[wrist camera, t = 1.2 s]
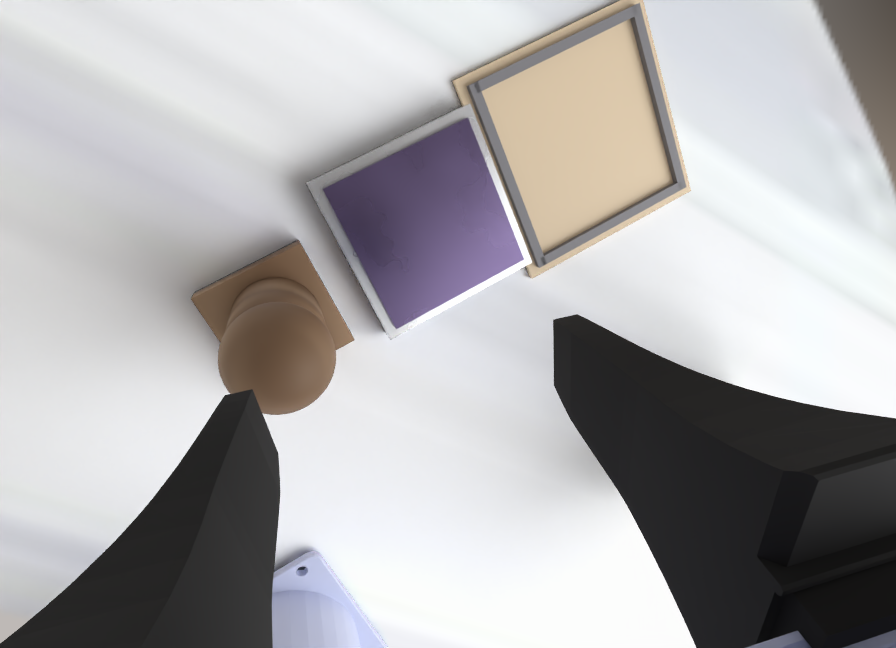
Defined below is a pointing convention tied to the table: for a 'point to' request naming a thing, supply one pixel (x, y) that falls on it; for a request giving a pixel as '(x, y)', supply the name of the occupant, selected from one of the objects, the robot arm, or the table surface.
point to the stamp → (275, 330)
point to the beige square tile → (579, 132)
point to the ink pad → (423, 220)
